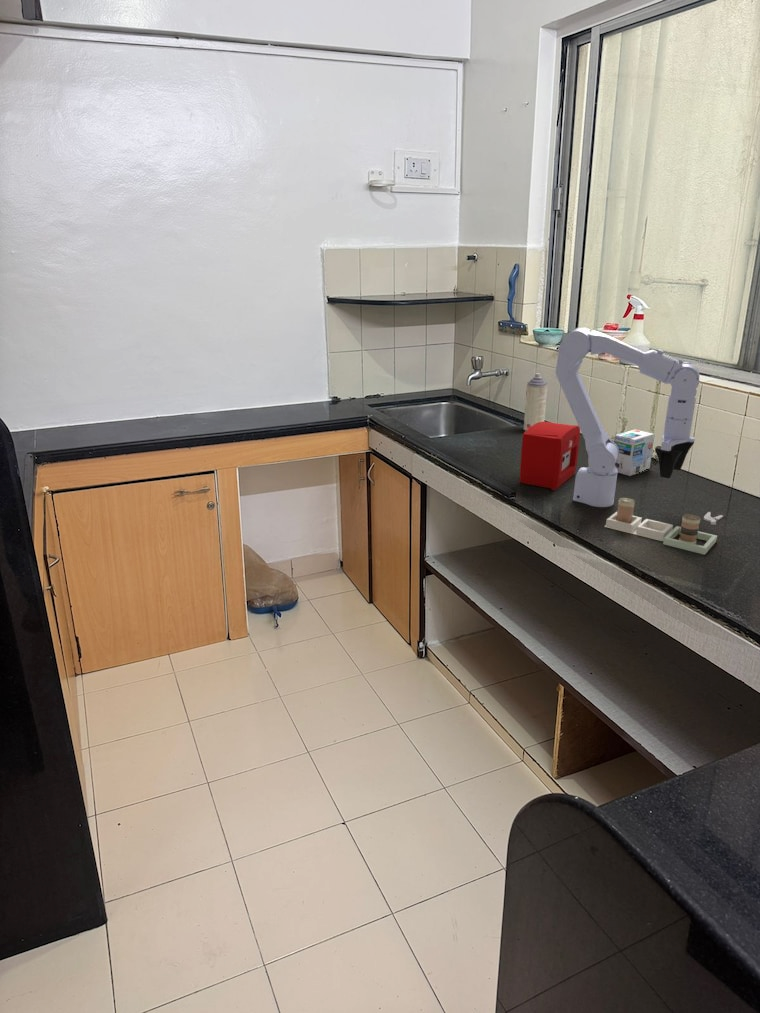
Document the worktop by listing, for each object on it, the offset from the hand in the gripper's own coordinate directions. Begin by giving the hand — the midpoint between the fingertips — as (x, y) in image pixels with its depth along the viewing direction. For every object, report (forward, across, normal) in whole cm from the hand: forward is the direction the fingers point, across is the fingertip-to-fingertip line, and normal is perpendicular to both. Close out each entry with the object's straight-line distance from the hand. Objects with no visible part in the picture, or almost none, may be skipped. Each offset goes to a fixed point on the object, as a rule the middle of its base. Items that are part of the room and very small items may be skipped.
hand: (670, 473), depth 166 cm
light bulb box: (+11, +29, +19) cm, 36 cm away
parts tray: (+10, -16, -10) cm, 22 cm away
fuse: (+10, -15, +4) cm, 18 cm away
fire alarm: (+11, +7, +34) cm, 36 cm away
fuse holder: (+10, -15, +1) cm, 18 cm away
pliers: (+11, -3, -10) cm, 15 cm away
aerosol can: (+10, +51, +61) cm, 80 cm away
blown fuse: (+10, -16, -10) cm, 21 cm away
